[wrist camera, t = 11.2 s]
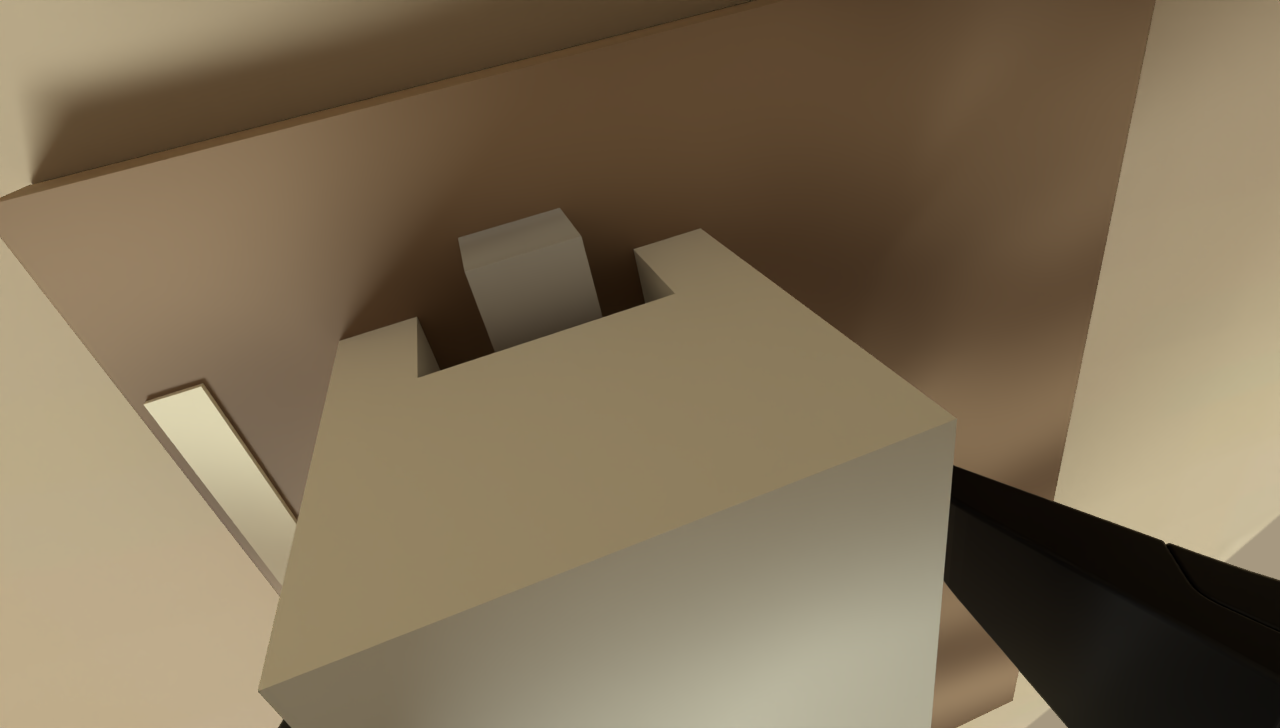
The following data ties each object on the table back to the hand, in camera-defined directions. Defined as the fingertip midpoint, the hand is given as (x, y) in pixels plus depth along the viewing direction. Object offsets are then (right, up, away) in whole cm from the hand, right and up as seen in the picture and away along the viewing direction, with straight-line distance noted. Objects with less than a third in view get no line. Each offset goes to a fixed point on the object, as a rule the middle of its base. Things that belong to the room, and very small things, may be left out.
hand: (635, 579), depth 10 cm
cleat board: (+2, -1, +7) cm, 7 cm away
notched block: (-1, +1, +3) cm, 3 cm away
